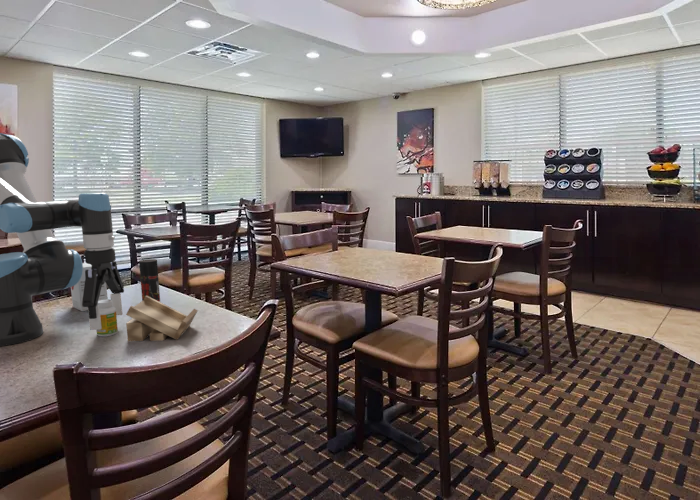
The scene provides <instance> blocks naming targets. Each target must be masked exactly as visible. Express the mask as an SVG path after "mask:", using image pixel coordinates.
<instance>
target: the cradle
mask: <svg viewBox="0 0 700 500" xmlns="http://www.w3.org/2000/svg"><path fill="white" fill-rule="evenodd" d="M198 311H199V310H198V309H196V308H193V309H192V310H191V312H189V313H188V315H187V314H184V313H182V312H180V311H179V310H177V309H174V308H172V307H170V306H168V305H166V304H165V303H163V302H161V301H157V300H155V299H153V298H151V297H149V296H147V295H146V296H145V298H144V300H143V301H142V300H141V301H140V302H139V303H137V304H136V305H134V306H133V305H130V306H129V308H128V310H127V312H126V314H125V315H126V316H128V317H129V318H130V320H129V321H127V322H126V323H125V325H126V337H127V342H143V341H145V339H147V338H148V337H149V341H151V342H154V341H155V342H157V341H158V342H159V341H165V340H166V338H168V337H170V338H172V339H174V340H176V341H178V340H179V339H180V337H181V336H182V335H183V334H184V333H185V332H186V331H187V330H188V328H189V327H190V326H191V324H192V322H193V320H194V318H195V317H196V314H197V312H198Z"/></svg>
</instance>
